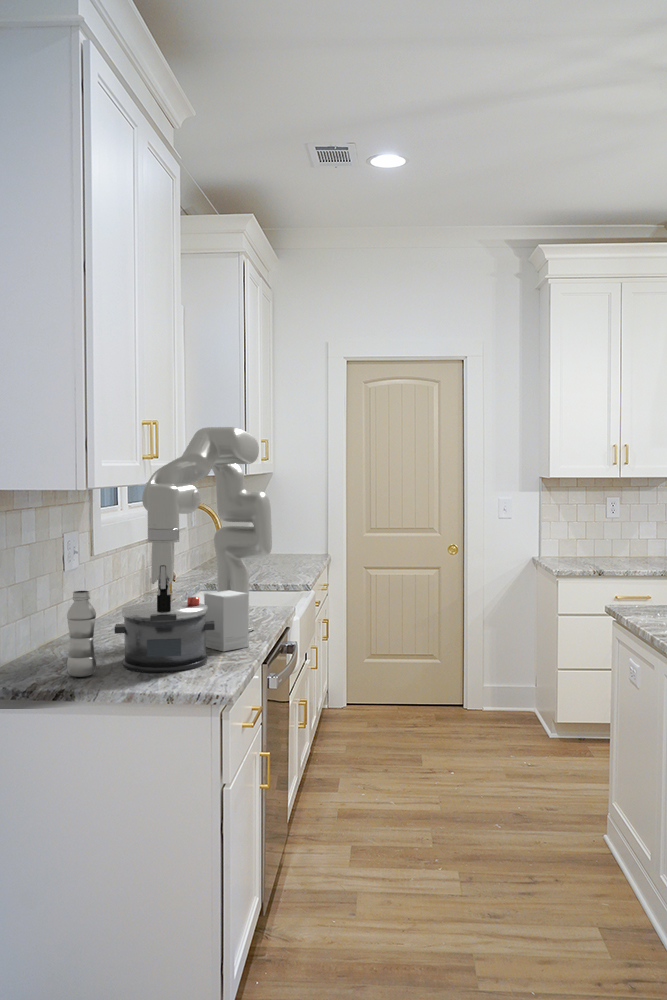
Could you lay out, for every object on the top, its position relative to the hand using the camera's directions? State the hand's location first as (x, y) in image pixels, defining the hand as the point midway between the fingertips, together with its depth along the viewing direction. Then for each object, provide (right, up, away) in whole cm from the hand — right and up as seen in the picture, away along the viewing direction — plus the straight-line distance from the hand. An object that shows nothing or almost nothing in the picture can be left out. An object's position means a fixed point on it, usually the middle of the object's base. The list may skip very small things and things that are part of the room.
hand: (163, 611), depth 192 cm
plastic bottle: (-18, -15, -6) cm, 24 cm away
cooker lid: (-1, -2, +5) cm, 6 cm away
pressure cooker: (-1, -14, +8) cm, 16 cm away
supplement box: (+12, -14, +25) cm, 31 cm away
